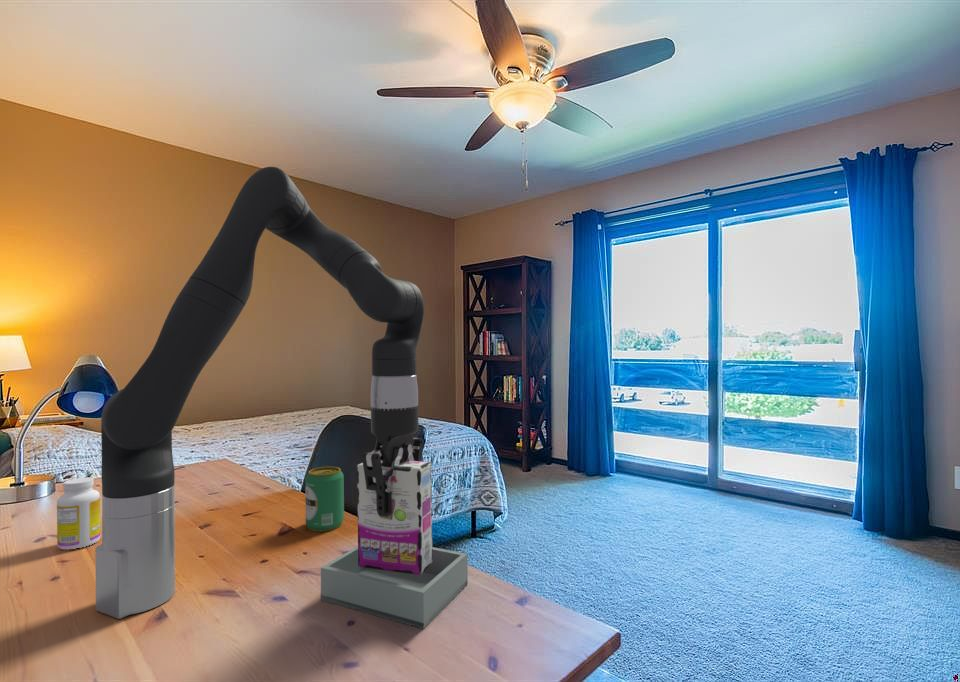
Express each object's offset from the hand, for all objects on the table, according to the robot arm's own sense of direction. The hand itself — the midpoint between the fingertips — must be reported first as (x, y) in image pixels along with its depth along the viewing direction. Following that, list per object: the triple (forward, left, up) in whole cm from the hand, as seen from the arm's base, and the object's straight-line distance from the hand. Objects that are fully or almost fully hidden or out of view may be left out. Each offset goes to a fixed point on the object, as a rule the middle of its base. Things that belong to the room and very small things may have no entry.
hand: (395, 508), depth 77 cm
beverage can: (+17, +31, -13) cm, 38 cm away
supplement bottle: (-11, +69, -13) cm, 71 cm away
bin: (0, 0, -13) cm, 13 cm away
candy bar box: (0, 0, -9) cm, 9 cm away
